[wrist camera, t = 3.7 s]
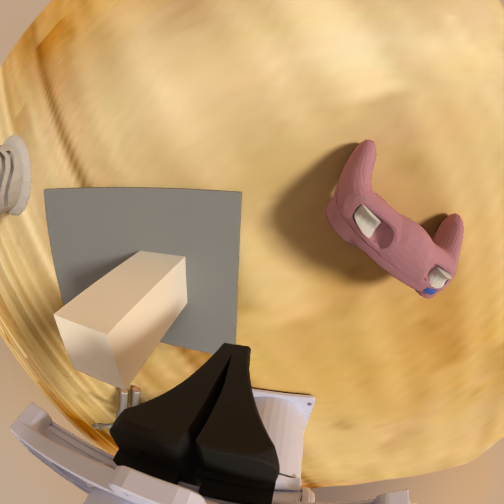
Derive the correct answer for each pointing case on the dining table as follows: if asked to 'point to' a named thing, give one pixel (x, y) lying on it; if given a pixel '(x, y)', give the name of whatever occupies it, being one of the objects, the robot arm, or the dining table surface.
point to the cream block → (123, 316)
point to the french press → (14, 176)
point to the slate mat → (154, 248)
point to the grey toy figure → (122, 404)
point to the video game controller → (392, 229)
